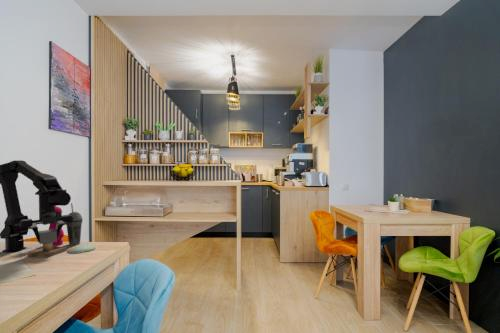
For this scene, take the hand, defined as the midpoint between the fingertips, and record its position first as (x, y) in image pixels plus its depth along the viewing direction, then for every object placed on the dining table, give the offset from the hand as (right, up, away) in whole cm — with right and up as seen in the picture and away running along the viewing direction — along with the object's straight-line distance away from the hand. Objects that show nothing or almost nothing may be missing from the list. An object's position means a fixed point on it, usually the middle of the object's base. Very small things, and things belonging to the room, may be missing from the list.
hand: (47, 240), depth 128 cm
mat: (+12, -5, +5) cm, 14 cm away
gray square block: (0, 0, 0) cm, 0 cm away
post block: (0, -6, 0) cm, 6 cm away
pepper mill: (-6, -6, +14) cm, 17 cm away
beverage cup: (+3, -6, +15) cm, 16 cm away
